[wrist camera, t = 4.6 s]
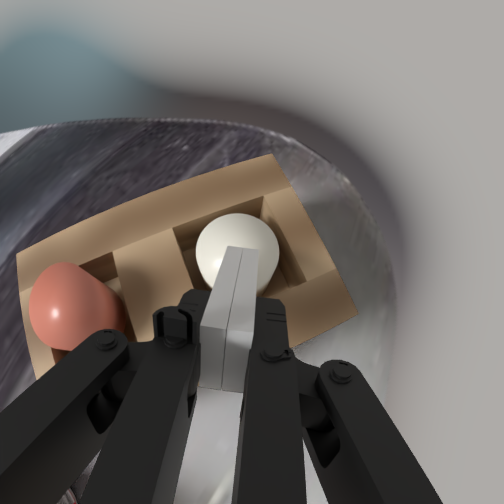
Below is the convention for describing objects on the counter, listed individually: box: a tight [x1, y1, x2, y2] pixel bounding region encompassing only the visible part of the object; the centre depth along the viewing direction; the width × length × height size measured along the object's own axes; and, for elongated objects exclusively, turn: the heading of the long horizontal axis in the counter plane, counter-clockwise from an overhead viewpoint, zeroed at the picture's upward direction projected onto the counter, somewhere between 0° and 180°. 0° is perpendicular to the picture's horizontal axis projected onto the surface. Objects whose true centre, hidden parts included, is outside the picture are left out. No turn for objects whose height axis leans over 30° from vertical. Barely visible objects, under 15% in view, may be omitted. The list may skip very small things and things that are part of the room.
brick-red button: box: [29, 262, 126, 351], centre depth 14 cm, size 5×5×4 cm
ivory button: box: [196, 213, 279, 297], centre depth 18 cm, size 5×5×4 cm
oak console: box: [16, 154, 359, 386], centre depth 20 cm, size 12×20×9 cm, turn 113°
